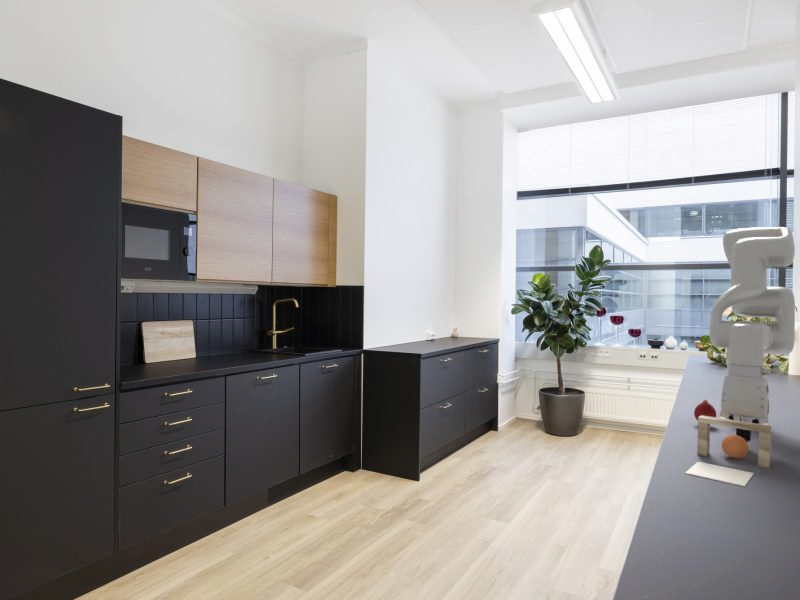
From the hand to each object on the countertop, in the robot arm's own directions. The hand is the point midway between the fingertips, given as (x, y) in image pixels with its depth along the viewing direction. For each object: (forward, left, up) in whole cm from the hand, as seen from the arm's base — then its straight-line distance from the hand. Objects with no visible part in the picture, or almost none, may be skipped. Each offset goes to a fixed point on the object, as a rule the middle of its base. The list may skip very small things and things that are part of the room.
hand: (743, 442), depth 136 cm
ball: (+11, 0, +1) cm, 11 cm away
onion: (-20, -13, -2) cm, 24 cm away
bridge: (+13, 0, -2) cm, 13 cm away
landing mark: (+27, 0, -2) cm, 27 cm away
